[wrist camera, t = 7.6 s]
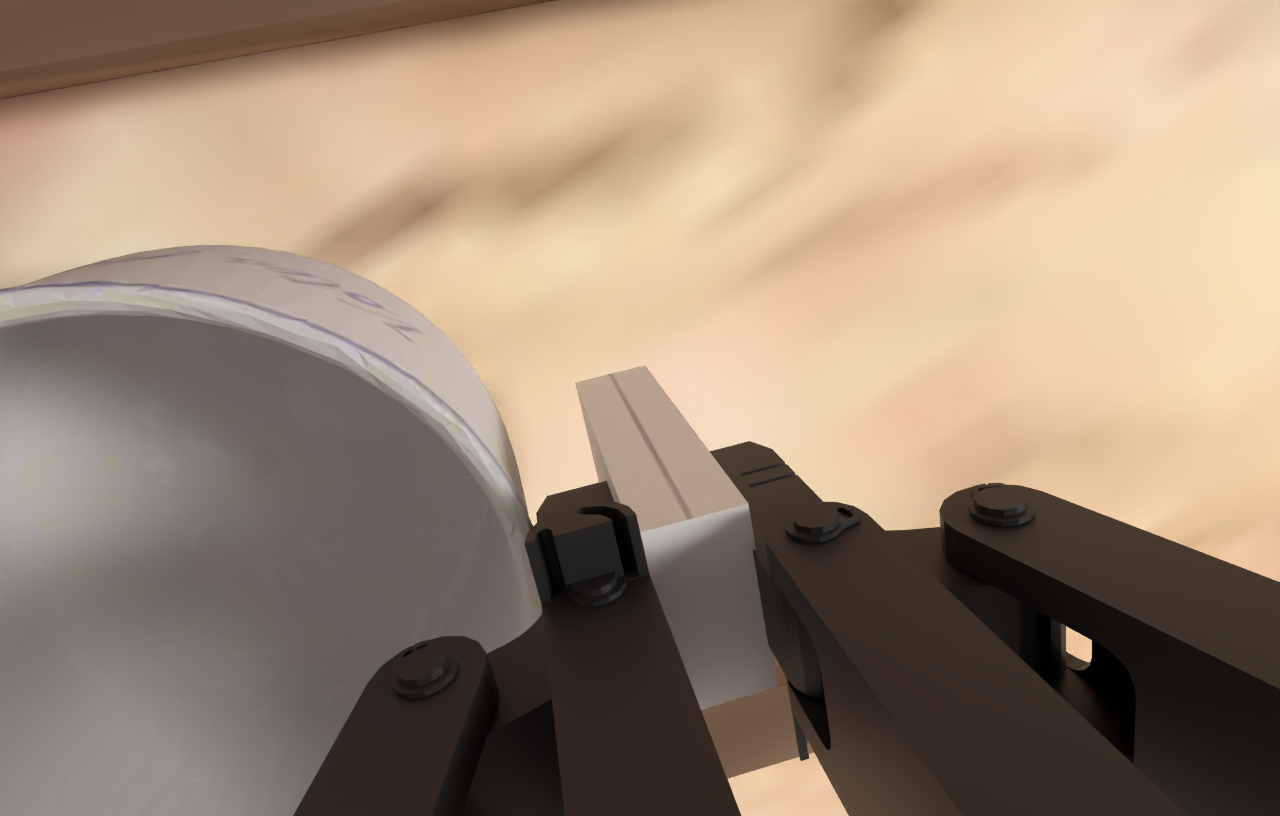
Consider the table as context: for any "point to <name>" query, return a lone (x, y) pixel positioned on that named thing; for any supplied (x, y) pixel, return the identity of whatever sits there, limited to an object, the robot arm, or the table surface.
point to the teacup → (230, 524)
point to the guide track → (259, 22)
